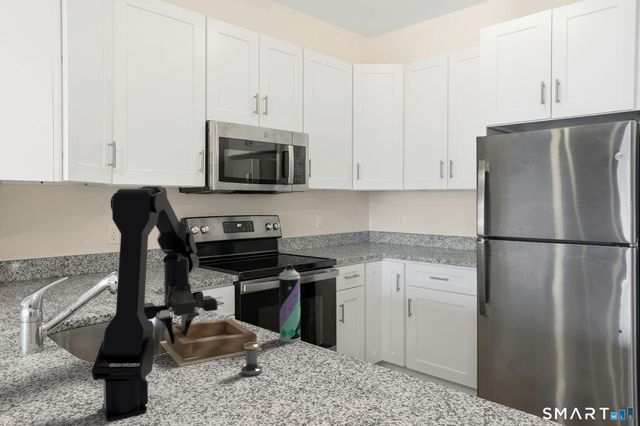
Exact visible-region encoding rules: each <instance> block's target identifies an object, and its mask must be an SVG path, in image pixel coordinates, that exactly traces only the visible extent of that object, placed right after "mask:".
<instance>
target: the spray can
mask: <svg viewBox="0 0 640 426" xmlns="http://www.w3.org/2000/svg"><path fill="white" fill-rule="evenodd" d="M295 269H296V268H295V267H294V266H293V265H292V264H286V265H285V269H284V270H283V271H282V272H281V273H280V272H279V276H278V281H279V282H278V283H279V284H278V285H279V297H278V298H279V340H280V342H284V343H296V342H299V341H301V281H300V280H301V276H300V272H298V271H296V270H295ZM297 340H298V341H297Z"/></svg>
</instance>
